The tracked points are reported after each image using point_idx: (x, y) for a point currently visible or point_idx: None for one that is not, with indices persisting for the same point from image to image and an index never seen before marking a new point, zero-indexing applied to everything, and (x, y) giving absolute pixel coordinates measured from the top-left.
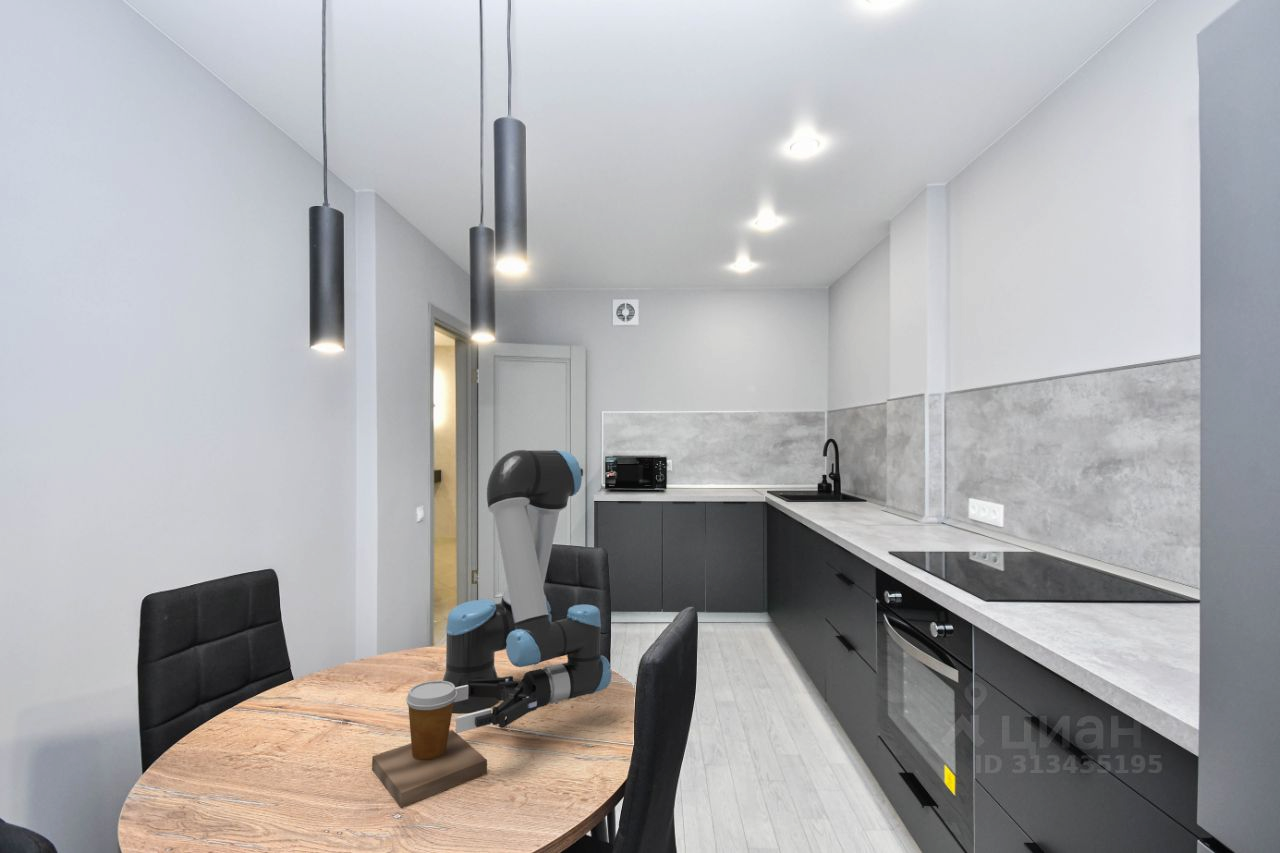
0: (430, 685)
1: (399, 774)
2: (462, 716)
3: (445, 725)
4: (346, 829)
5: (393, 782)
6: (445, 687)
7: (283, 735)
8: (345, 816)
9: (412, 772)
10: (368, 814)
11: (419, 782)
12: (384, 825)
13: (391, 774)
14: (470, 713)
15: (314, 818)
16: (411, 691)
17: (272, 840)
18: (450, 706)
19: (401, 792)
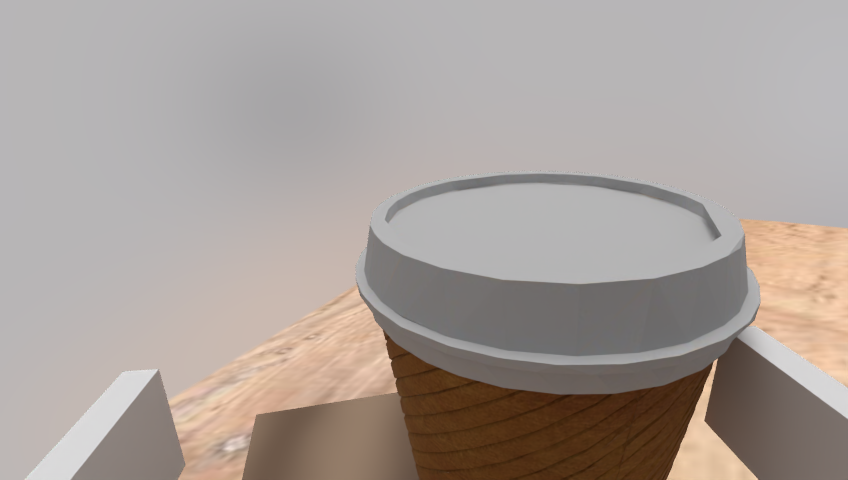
0: (656, 217)
1: (382, 418)
2: (109, 404)
3: (430, 469)
4: (285, 358)
5: (342, 401)
6: (595, 260)
7: (784, 278)
8: (339, 357)
9: (367, 454)
10: (307, 390)
11: (270, 466)
12: (222, 415)
13: (399, 400)
14: (71, 469)
15: (376, 323)
16: (552, 181)
17: (350, 291)
18: (429, 381)
19: (259, 414)
